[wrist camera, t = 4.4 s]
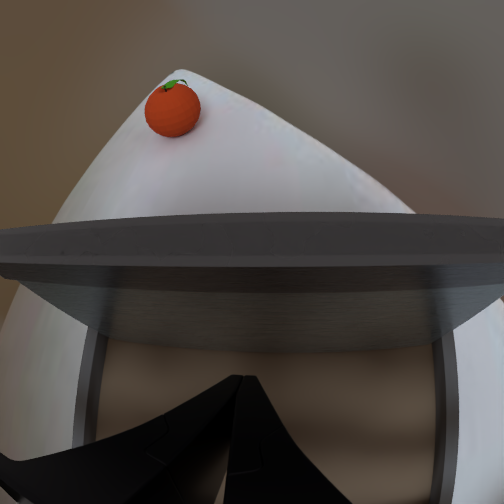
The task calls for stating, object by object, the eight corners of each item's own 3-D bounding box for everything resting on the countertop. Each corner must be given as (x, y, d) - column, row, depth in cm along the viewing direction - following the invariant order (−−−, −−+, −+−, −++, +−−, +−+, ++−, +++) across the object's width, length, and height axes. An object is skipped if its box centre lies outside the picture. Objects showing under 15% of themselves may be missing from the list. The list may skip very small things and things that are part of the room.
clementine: (174, 111, 38) (161, 70, 32) (217, 113, 36) (207, 67, 30) (144, 146, 34) (125, 102, 28) (190, 150, 32) (174, 100, 26)
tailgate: (429, 348, 16) (554, 260, 6) (109, 342, 19) (-18, 261, 8) (426, 325, 17) (539, 222, 7) (113, 322, 19) (-5, 230, 9)
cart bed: (424, 506, 12) (448, 519, 8) (101, 489, 15) (72, 496, 11) (427, 338, 19) (451, 323, 15) (116, 334, 22) (90, 318, 18)
